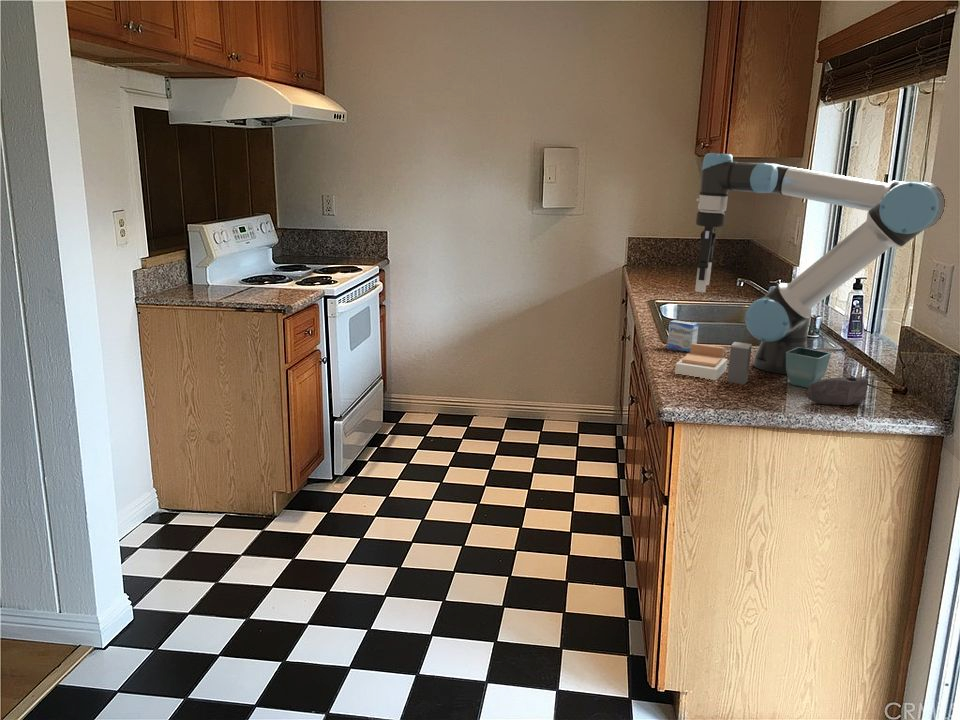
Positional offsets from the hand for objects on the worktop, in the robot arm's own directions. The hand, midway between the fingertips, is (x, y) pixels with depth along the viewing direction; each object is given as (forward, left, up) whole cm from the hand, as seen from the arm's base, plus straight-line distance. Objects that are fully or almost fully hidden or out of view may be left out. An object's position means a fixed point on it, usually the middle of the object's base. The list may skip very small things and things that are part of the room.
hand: (702, 288), depth 225 cm
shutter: (-4, +7, -19) cm, 20 cm away
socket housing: (-4, +8, -22) cm, 24 cm away
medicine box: (+8, -16, -22) cm, 28 cm away
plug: (-14, +12, -22) cm, 29 cm away
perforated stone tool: (-39, +20, -22) cm, 49 cm away
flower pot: (-30, +6, -22) cm, 38 cm away
